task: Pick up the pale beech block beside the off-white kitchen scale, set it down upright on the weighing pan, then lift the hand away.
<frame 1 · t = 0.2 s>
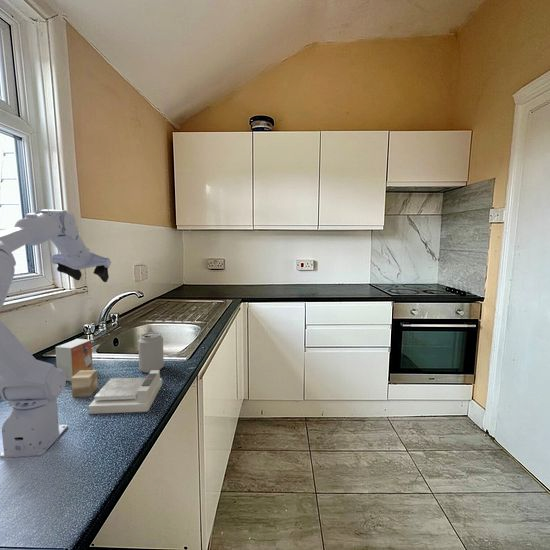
hand: (93, 278, 89), 31 cm above the worktop, tool tilted 45°, fingers open, 7 cm apart
can: (151, 369, 100), on the worktop
small box: (75, 375, 95), on the worktop
beech block: (85, 392, 85), on the worktop
scale base: (128, 397, 83), on the worktop
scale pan: (122, 388, 82), point 3 cm above the worktop, slide at -0.2 cm
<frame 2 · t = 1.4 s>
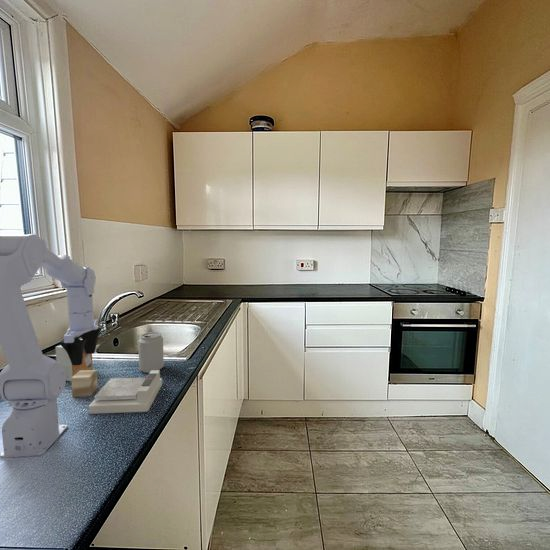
hand: (84, 358, 84), 10 cm above the worktop, tool pointing down, fingers open, 7 cm apart
nothing on the worktop moved.
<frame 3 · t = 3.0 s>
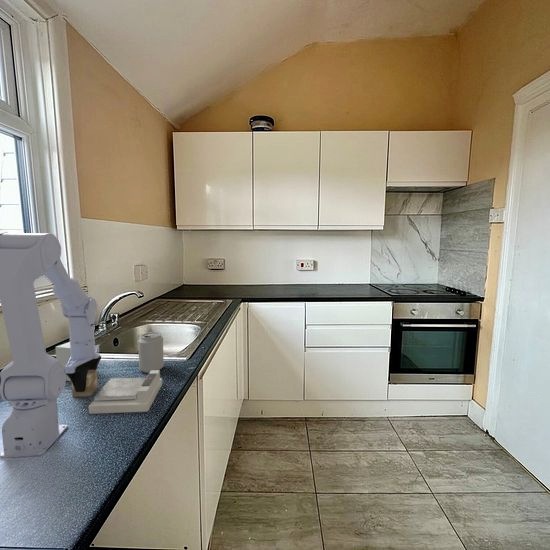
hand: (85, 386, 85), 2 cm above the worktop, tool pointing down, fingers closed on beech block, 4 cm apart
beech block: (85, 392, 85), on the worktop, touching gripper
everything else where it was.
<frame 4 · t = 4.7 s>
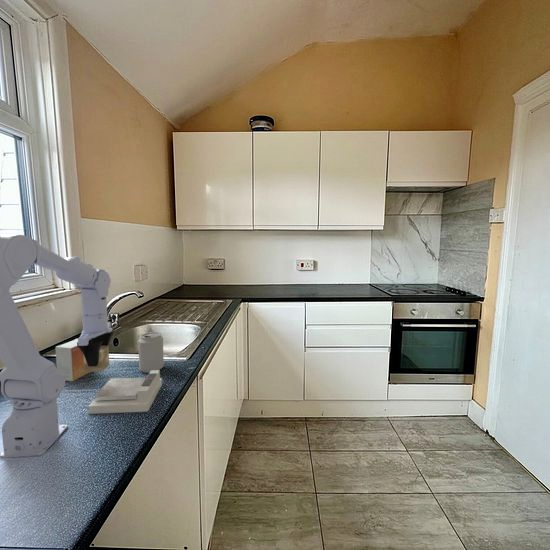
hand: (97, 361, 83), 9 cm above the worktop, tool pointing down, fingers closed on beech block, 4 cm apart
beech block: (97, 368, 83), point 8 cm above the worktop, touching gripper
everything else where it was.
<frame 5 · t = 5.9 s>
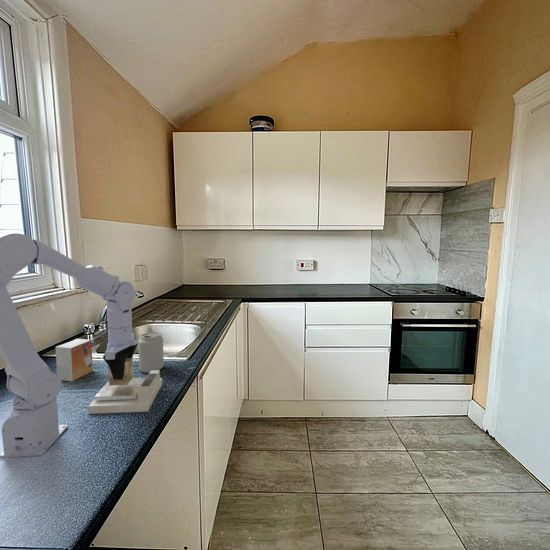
hand: (122, 374, 82), 7 cm above the worktop, tool pointing down, fingers closed on beech block, 4 cm apart
beech block: (121, 381, 82), point 5 cm above the worktop, touching gripper
everything else where it was.
when the fingers open (6 cm above the worktop, at t = 6.5 s): beech block drops 1 cm, resting on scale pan.
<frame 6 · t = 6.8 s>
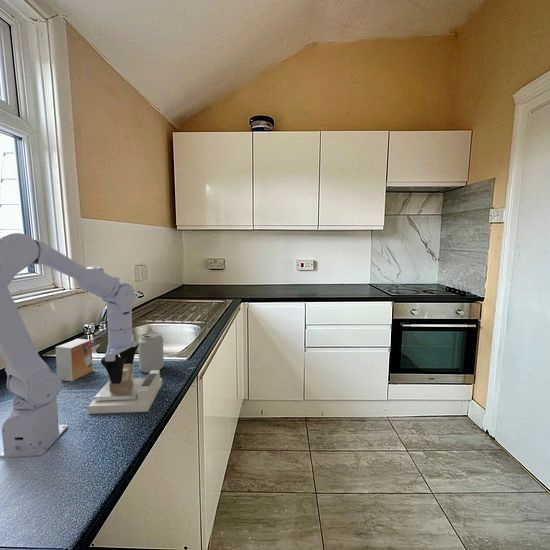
hand: (122, 376, 82), 6 cm above the worktop, tool pointing down, fingers open, 7 cm apart
beech block: (121, 386, 82), point 3 cm above the worktop, touching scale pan
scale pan: (122, 388, 82), point 3 cm above the worktop, slide at -0.3 cm, touching beech block
everything else where it was.
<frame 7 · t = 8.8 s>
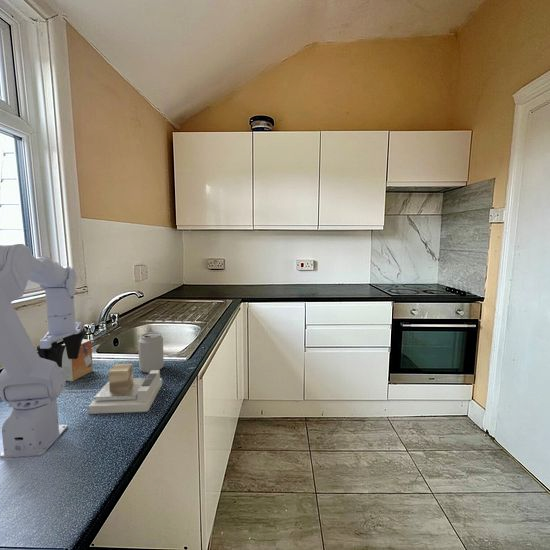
hand: (65, 364, 78), 10 cm above the worktop, tool pointing down, fingers open, 7 cm apart
nothing on the worktop moved.
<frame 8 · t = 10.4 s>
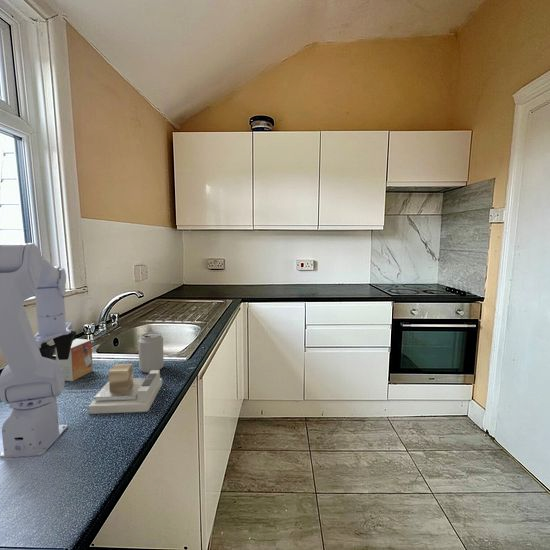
hand: (55, 365, 78), 10 cm above the worktop, tool pointing down, fingers open, 7 cm apart
nothing on the worktop moved.
at the end: beech block inside the target area on the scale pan (0.2 cm from its centre), point 3.5 cm above the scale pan's base; beech block tilted 0°; the gripper is holding nothing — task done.
